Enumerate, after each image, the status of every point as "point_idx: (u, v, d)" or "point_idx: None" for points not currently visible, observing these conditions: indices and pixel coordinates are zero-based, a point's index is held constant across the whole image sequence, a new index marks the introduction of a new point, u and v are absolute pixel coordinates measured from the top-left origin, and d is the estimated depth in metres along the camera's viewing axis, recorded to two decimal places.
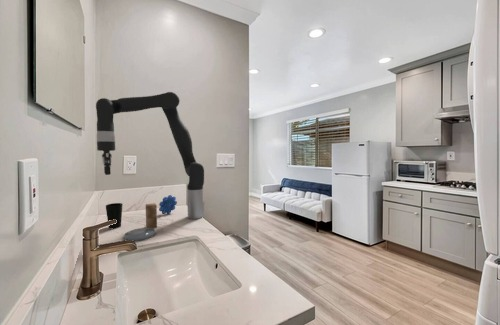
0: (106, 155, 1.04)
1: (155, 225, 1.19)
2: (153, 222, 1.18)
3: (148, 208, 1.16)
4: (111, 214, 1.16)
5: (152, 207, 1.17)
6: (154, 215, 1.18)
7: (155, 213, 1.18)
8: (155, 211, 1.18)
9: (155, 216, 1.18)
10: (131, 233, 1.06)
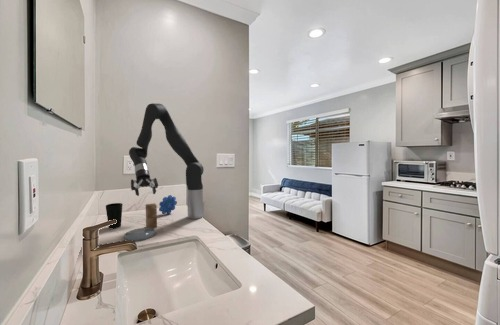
0: None
1: (155, 225, 1.19)
2: (153, 222, 1.18)
3: (148, 208, 1.16)
4: (111, 214, 1.16)
5: (152, 207, 1.17)
6: (154, 215, 1.18)
7: (155, 213, 1.18)
8: (155, 211, 1.18)
9: (155, 216, 1.18)
10: (131, 233, 1.06)
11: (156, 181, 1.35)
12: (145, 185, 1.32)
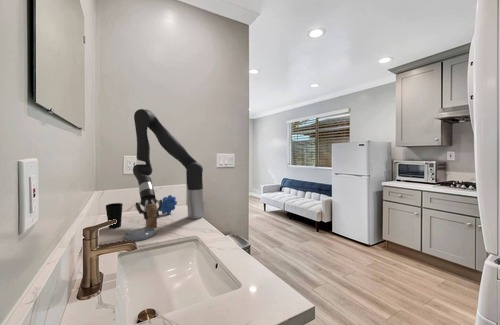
0: (136, 206, 1.19)
1: (155, 225, 1.19)
2: (153, 222, 1.18)
3: (147, 208, 1.16)
4: (111, 214, 1.16)
5: (152, 207, 1.17)
6: (154, 215, 1.18)
7: (155, 213, 1.18)
8: (155, 211, 1.18)
9: (155, 216, 1.18)
10: (131, 233, 1.06)
11: (161, 203, 1.24)
12: None
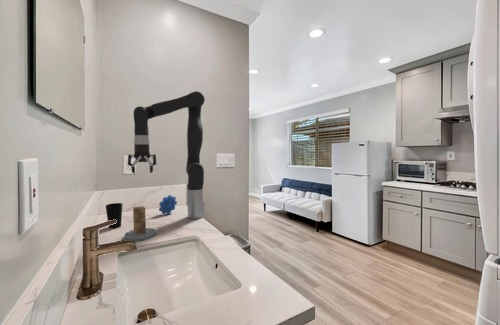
0: (128, 156, 1.21)
1: (144, 230, 1.06)
2: (141, 227, 1.06)
3: (135, 211, 1.04)
4: (111, 214, 1.16)
5: (140, 210, 1.05)
6: (143, 219, 1.06)
7: (144, 217, 1.06)
8: (144, 215, 1.06)
9: (144, 220, 1.06)
10: (131, 233, 1.06)
11: (155, 159, 1.27)
12: (143, 161, 1.25)
